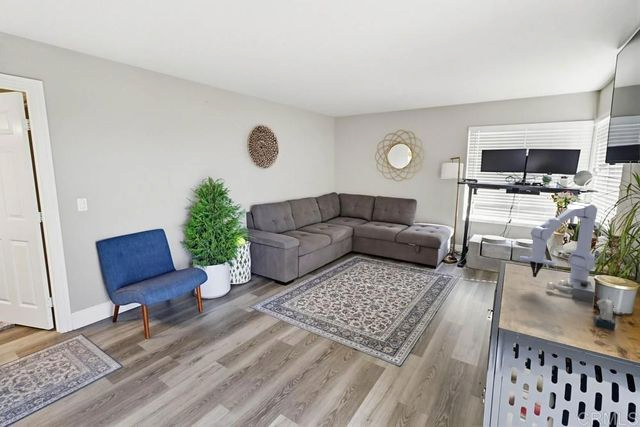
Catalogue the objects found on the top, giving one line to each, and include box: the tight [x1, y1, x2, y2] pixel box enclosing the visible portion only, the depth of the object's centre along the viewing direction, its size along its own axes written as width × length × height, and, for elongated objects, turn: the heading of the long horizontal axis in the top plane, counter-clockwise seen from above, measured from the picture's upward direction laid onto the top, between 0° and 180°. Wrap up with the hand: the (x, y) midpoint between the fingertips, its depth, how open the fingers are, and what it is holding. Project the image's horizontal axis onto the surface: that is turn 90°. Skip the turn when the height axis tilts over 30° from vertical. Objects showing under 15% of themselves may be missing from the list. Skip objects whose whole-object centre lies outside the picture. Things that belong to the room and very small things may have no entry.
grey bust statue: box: [593, 298, 616, 332], centre depth 123 cm, size 6×8×11 cm
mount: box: [569, 278, 596, 304], centre depth 151 cm, size 15×8×7 cm, turn 146°
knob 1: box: [545, 281, 573, 293], centre depth 153 cm, size 12×4×4 cm, turn 56°
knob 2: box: [557, 279, 572, 287], centre depth 156 cm, size 12×4×4 cm, turn 56°
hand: (534, 276), depth 159 cm, fingers closed
